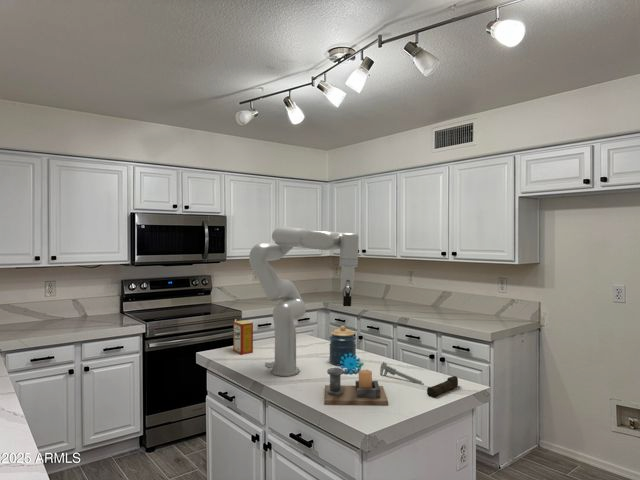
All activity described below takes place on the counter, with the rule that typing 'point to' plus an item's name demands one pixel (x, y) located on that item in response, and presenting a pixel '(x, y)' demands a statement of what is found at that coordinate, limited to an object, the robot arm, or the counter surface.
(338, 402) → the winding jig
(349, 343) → the canister
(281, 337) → the robot arm
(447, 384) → the hand tool
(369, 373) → the tan oval solid
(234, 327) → the baking soda box
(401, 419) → the counter surface
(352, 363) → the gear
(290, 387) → the counter surface
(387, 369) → the caliper
